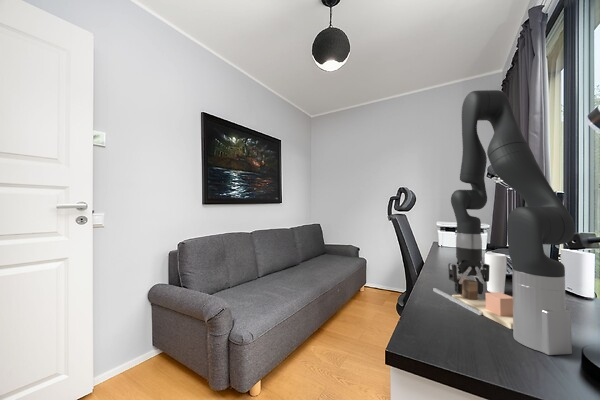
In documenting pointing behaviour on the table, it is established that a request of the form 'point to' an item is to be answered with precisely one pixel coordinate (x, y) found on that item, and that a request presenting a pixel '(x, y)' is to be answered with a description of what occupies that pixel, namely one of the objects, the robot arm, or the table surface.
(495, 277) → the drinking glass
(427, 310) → the table surface
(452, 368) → the table surface
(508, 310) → the terracotta block
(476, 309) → the guide rails
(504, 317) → the birch strip
